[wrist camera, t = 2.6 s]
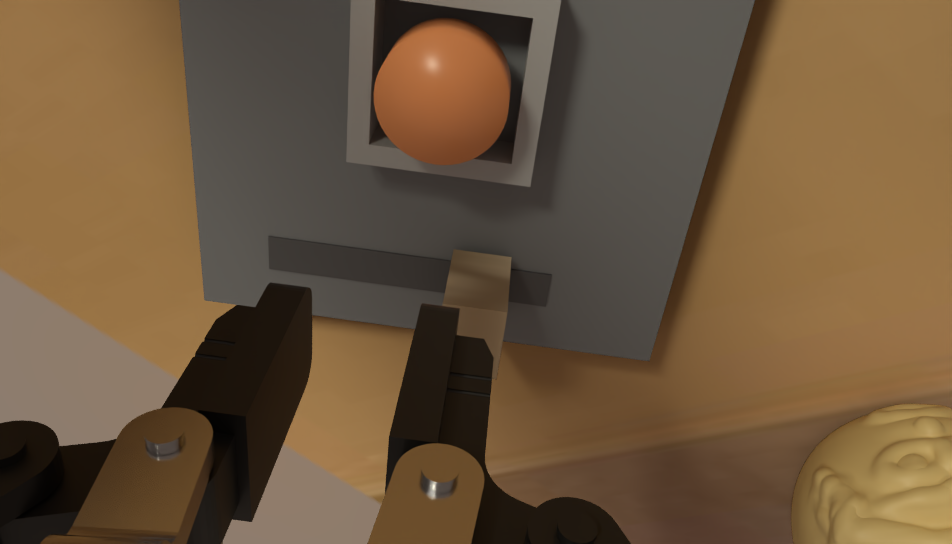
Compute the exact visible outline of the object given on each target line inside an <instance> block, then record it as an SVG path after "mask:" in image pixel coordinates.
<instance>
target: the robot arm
mask: <svg viewBox="0 0 952 544" xmlns="http://www.w3.org/2000/svg"><path fill="white" fill-rule="evenodd" d="M459 313H460V308H454V307H446V306H439V305H432V304H424V303H422V304H421V307H420V311H419V315H418V319H417V324H416V328H415V332H414V336H413V340H412V344H411V348H410V353H409V357H408V361H407V365H406V369H405V373H404V377H403V382H402V386H401V390H400V394H399V398H398V402H397V406H396V411H395V415H394V419H393V423H392V427H391V431H390V435H389V447H388V460H387V474H386V487H385V496H384V499H383V502H382V505H381V507H380V510H379V513H378V516H377V518H376V521H375V524H374V527H373V530H372V532H371V535H370V538H369V541H368V543H367V544H631V543H630V542H629V541H628V539H627V538H626V536H625V535H624V533H623V532H622V531H621V529H620V528H619V526H618V525H617V523H616V522H615V521H614V520H613V518H612V517H611V516H610V515H609V514H608V513H607V512H606V511H604V510H603V509H601V508H600V507H599V506H597V505H595V504H593V503H591V502H588V501H585V500H582V499H578V498H571V497H560V498H555V499H551V500H548V501H546V502H544V503H542V504H541V505H539V506H538V507H537V508H535V507H533V506H531V505H528V504H526V503H524V502H521V501H519V500H517V499H515V498H513V497H511V496H509V495H508V494H506V493H505V492H504V491H502V490H501V489H500V488H499V487H498V486H497V485H496V484H495V483H494V482H493V480H492V479H491V477H490V476H489V474H488V471H487V469H486V465H485V448H486V438H487V427H488V416H489V405H490V394H491V383H492V382H491V381H492V372H493V361H494V357H493V355H492V353H491V351H490V349H489V347H488V345H487V343H486V342H485V340H484V339H482V338H474V337H467V336H460V335H457V329H458V321H459ZM311 360H312V291H311V289H310V288H309V287H302V286H294V285H287V284H280V283H272V282H270V283H269V284H268V285H267V287H266V289H265V290H264V292H263V294H262V296H261V298H260V299H259V301H258V303H257V305H256V307H250V306H243V305H236V306H235V307H234V308H232V309H231V310H229V311H228V312H226V313H225V314H223V315H222V316H221V317H219V318H218V319H216V321H215V322H214V324H213V325H212V327H211V329H210V330H209V332H208V333H207V335H206V337H205V340H204V342H202V343H201V345H200V346H199V348H198V350H197V351H196V353H195V357H193V358H192V359H191V361H190V363H189V364H188V366H187V367H186V369H185V371H184V372H183V374H182V376H181V377H180V379H179V380H178V382H177V384H176V385H175V387H174V389H173V390H172V392H171V393H170V395H169V397H168V398H167V400H166V401H165V403H164V405H163V406H162V408H161V409H157V410H153V411H150V412H147V413H144V414H142V415H140V416H138V417H137V418H135V419H133V420H132V421H131V422H129V423H128V424H127V425H126V426H125V427H124V428H123V429H122V431H121V432H120V434H119V435H118V437H117V439H114V440H110V441H105V442H97V443H88V444H78V445H69V446H59V442H58V438H57V436H56V434H55V432H54V431H53V430H52V429H51V428H49V427H48V426H46V425H44V424H41V423H38V422H33V421H11V422H4V423H0V544H223V539H224V536H225V534H226V532H227V529H228V527H229V525H230V522H231V520H232V519H234V520H241V521H249V522H252V520H253V518H254V515H255V513H256V510H257V507H258V505H259V502H260V500H261V498H262V495H263V493H264V490H265V487H266V485H267V483H268V480H269V477H270V475H271V472H272V470H273V468H274V465H275V463H276V460H277V458H278V455H279V453H280V450H281V448H282V445H283V443H284V440H285V438H286V435H287V433H288V430H289V428H290V425H291V423H292V420H293V418H294V415H295V413H296V410H297V408H298V405H299V403H300V400H301V398H302V395H303V393H304V390H305V388H306V385H307V382H308V378H309V373H310V368H311Z"/></svg>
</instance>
